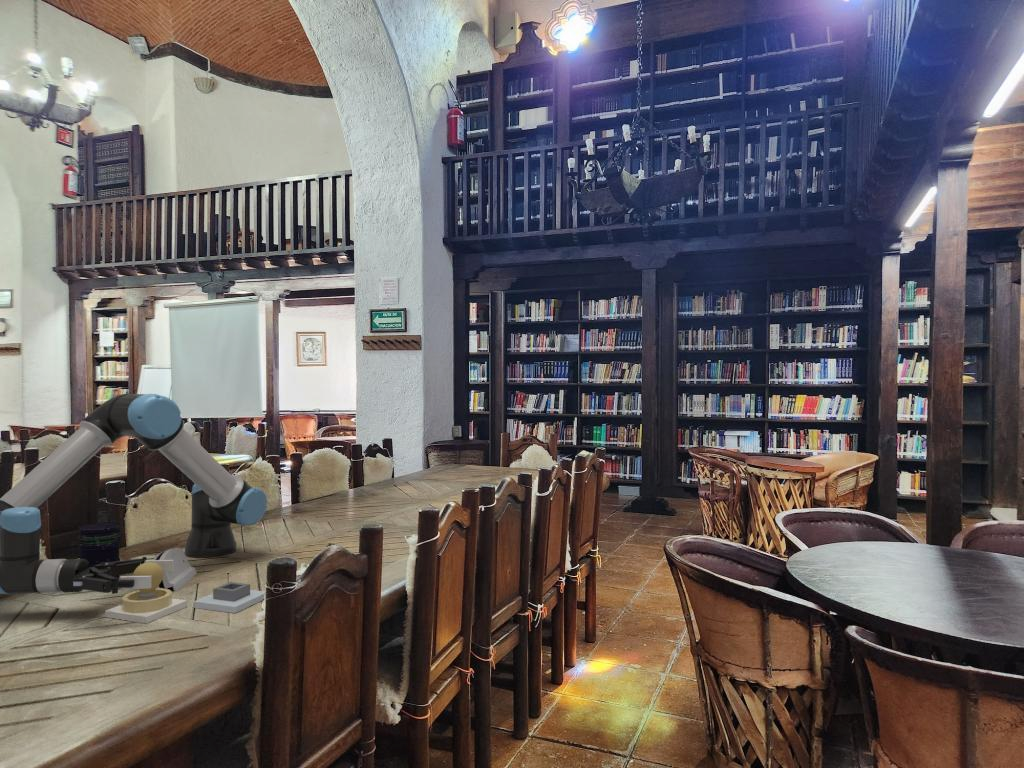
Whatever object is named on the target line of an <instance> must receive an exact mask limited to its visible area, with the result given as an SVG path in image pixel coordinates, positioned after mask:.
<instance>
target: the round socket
mask: <svg viewBox="0 0 1024 768" xmlns="http://www.w3.org/2000/svg"><path fill="white" fill-rule="evenodd" d="M139 592H140V591H139V589H137V590H135V591H134V590H133V591H132V592H128V593H127V594H124V596H122V597H121V604H120V605H117V606H114V607H112V608H108V609H106V610H104V618H106V617H108V618H107V619H112V618H115V619H114V620H119V619H121V621H125V620H127V621H126V622H133V623H138V624H145V623H147V624H148V623H151V622H154V621H155V620H156V621H157V620H158V619H161V618H163V617H165V616H167V615H170V614H172V613H175V612H178V611H180V610H182V609H185V608H188V600H186V599H178V598H173V592H172V590H171V589H168V588H167V589H165V588H164V589H162V588H156V599H150V600H140V601H139V600H138V597H139V596H138V594H139ZM153 620H154V621H153Z"/></svg>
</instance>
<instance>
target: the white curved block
mask: <svg viewBox="0 0 1024 768" xmlns="http://www.w3.org/2000/svg"><path fill="white" fill-rule="evenodd" d="M152 560H174V571H172V572H163V579H162V581H161V583H160V584H159V585H158V587H157V588H162V589H168V588H172V589H173V591H174V592H177V591H178V590H179V589H181V588H182V587H183V586H184V585H185V584H186V583H188V582H189V581H190V580H191V579H192V578H193V577H195V576H196V575H197V574H196V573H197V570H196V568H195V567H193V566H190V563H189V561H188V558H187V555H185V550H184V548H181V547H173V548H170V549H167V550H166V549H165V550H164V551H161V552H160V553H158V554H156V555H155V556H154V557H153V559H152ZM195 574H196V575H195ZM194 575H195V576H194Z"/></svg>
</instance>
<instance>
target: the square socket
mask: <svg viewBox="0 0 1024 768" xmlns="http://www.w3.org/2000/svg"><path fill="white" fill-rule="evenodd" d="M264 592H265V591H262V590H255V589H251V583H242V582H234V581H230V582H226V583H225V584H221V585H220V586H216V587H214V588H213V590H212V593H211V594H209V595H206V596H204V597H201V598H199V599H196V600H195V601H193V608H194V609H203V610H207V611H208V610H210V611H215V612H224V613H230V614H238V613H239V612H241V611H243V610H245V609H247V608H249V606H250V607H251V605H252V606H254V605H256V604H258V603H260V602H262V601H264V600H263V598H264Z"/></svg>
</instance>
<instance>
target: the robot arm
mask: <svg viewBox="0 0 1024 768" xmlns="http://www.w3.org/2000/svg"><path fill="white" fill-rule="evenodd" d="M181 414H182V412H181V410H180V407H179V406H178V404H177V403H176V401H174V400H173V399H172V398H170V397H167V396H164V395H160V394H156V393H122V394H118V395H114V396H113V397H111V398H108V399H107V400H106V401H104V402H103V403H102V404H100V405H99V406H98V407H96V408H95V409H94V410H92V411H91V412H90V413H89V414H88V415H87V416H85V418H83V419H82V420H81V421H80V422H79V426H78V427H79V428H78V429H77V430H76V431H75V432H73V433H72V434H71V435H70V436H69V437H68V438H66V440H65V441H64V442H62V443H61V444H60V445H59V446H58V447H56V449H54V450H53V451H52V452H51V453H49V455H48V456H46V457H45V458H44V459H43V460H42V461H41V462H40V463H38V464H37V465H36V466H35V467H34V468H33V469H32V470H31V471H30V472H28V473H27V475H25V476H24V477H22V479H20V480H19V482H17V483H16V484H15V485H14V486H13V487H12V488H11V489H9V491H7V492H5V493H4V494H3V496H1V497H0V595H9V596H10V595H11V596H12V595H19V594H22V595H24V594H26V595H27V594H47V593H48V595H49V596H52V595H54V594H55V593H56V594H57V593H58V594H59V593H63V594H64V593H80V592H82V591H84V590H85V591H90V592H91V591H92V592H97V593H98V592H99V593H105V594H110V593H111V594H118V593H119V590H139V589H150V588H151V583H152V576H133V575H128V574H133V573H134V571H135V569H136V568H137V567H138V566H139V565H141V564H143V563H147V562H154V563H157V564H159V565H160V566H161V568H162V569H163V572H172V571H174V560H153V559H148V560H147V556H143V557H141V558H134V559H126V560H125V559H124V560H120V561H115V562H102V563H100V564H99V565H95V567H91V566H90V565H89V562H88V561H87V560H86V559H80V558H68V559H66V558H55V559H54V558H53V559H47V558H46V559H40V557H41V556H40V553H41V552H40V551H41V550H40V549H41V548H40V546H41V532H42V531H41V527H42V519H41V510H40V509H39V507H40V506H41V505H42V504H43V503H44V502H46V501H47V500H48V498H50V497H51V496H52V495H53V494H54V493H55V492H56V491H58V489H59V488H60V487H61V486H63V485H64V484H66V482H67V481H68V480H69V479H70V478H71V477H72V476H73V475H75V474H76V473H77V472H78V471H79V470H80V469H81V468H82V467H83V466H84V465H85V464H87V462H89V460H91V459H92V458H93V457H94V456H95V455H96V454H98V452H100V451H101V450H102V449H103V448H104V447H111V445H113V444H114V443H115V442H116V441H117V440H119V439H121V438H124V437H133V438H134V439H136V440H137V441H138V442H139V443H141V445H143V446H144V447H145V448H146V449H147V450H149V451H159V453H161V455H163V456H164V457H165V458H166V459H168V460H169V462H170V463H171V464H173V465H174V466H175V467H176V468H177V469H179V471H180V472H182V473H183V474H184V475H185V476H186V477H187V478H188V479H189V480H191V481H192V483H194V484H193V485H192V488H191V527H190V528H191V529H190V531H189V534H188V537H187V540H186V544H185V545H184V553H185V556H186V557H192V558H212V557H214V558H215V557H221V556H222V557H223V556H226V555H230V554H232V553H234V552H236V551H237V541H236V540H235V535H234V532H233V529H232V524H235V525H240V526H252V525H256V524H257V523H258V522H259V521H261V519H262V518H263V517H264V515H265V513H266V511H267V507H268V506H267V505H268V497H267V494H266V492H265V491H264V490H263V489H262V488H259V487H257V486H256V487H255V486H254V487H252V486H251V485H250V484H248V483H249V482H247V481H246V480H245V479H244V478H242V477H241V476H240V475H232V474H231V473H230V472H228V471H227V469H226V468H225V467H224V466H223V465H222V464H221V463H219V461H217V460H216V459H215V457H213V455H212V454H210V453H209V452H208V451H207V450H206V449H205V448H204V447H203V446H202V445H201V444H200V443H199V442H198V441H197V440H196V439H195V438H194V437H193V436H192V434H190V433H189V432H188V431H186V429H185V421H184V419H183V418H182V417H181ZM118 575H119V576H120V577H119V580H118V578H116V576H118ZM124 575H125V576H124ZM126 575H127V576H126Z"/></svg>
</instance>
